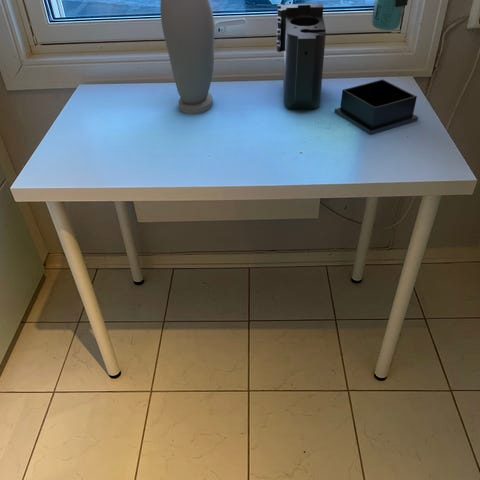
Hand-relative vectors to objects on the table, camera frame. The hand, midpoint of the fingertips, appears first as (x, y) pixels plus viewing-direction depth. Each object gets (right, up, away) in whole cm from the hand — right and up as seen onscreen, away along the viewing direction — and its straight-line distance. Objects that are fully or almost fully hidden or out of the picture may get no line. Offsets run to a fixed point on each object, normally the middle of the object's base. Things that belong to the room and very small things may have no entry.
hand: (390, 1), depth 114 cm
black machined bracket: (-17, -9, +30) cm, 36 cm away
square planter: (+2, -17, +21) cm, 27 cm away
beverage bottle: (0, -4, +5) cm, 6 cm away
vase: (-45, -11, +28) cm, 55 cm away
